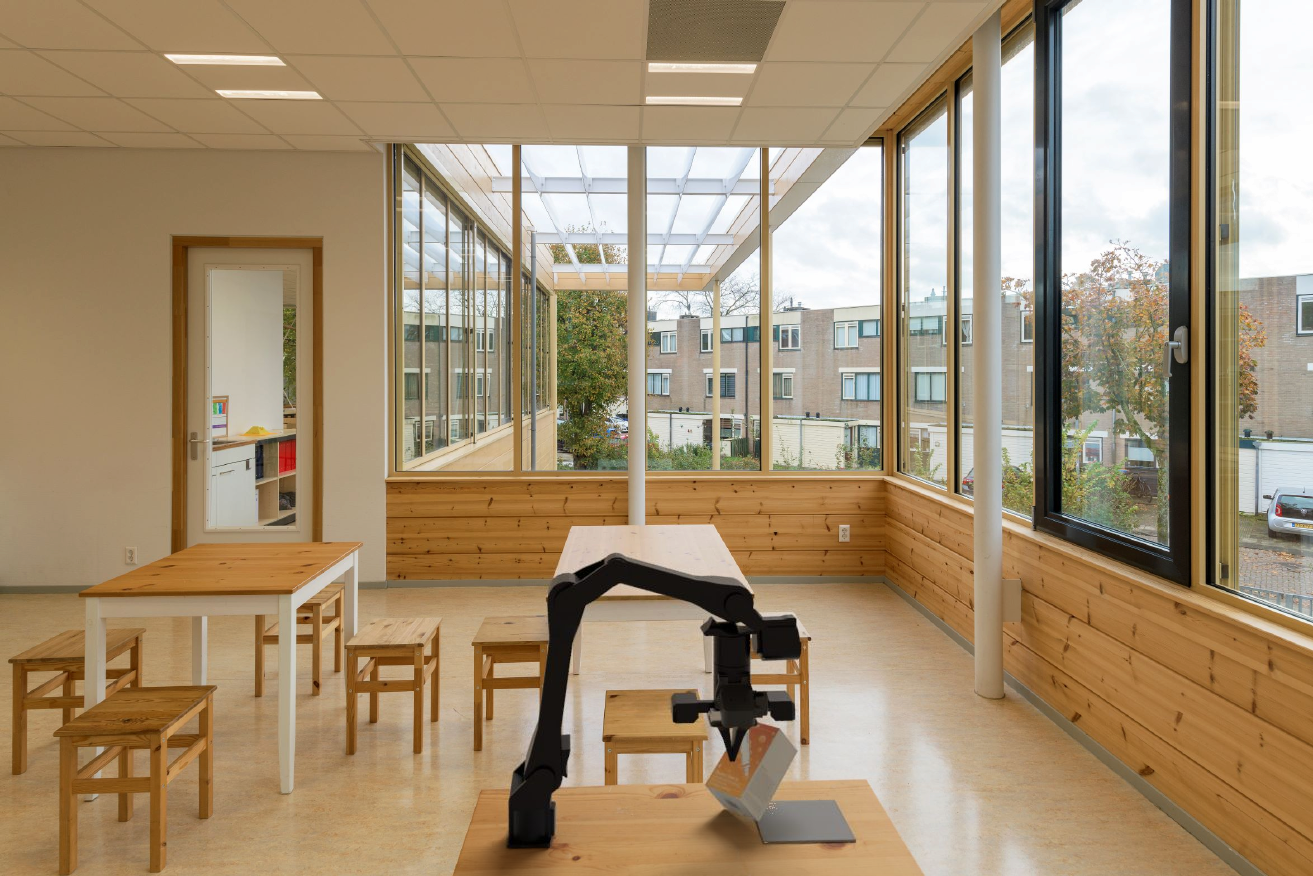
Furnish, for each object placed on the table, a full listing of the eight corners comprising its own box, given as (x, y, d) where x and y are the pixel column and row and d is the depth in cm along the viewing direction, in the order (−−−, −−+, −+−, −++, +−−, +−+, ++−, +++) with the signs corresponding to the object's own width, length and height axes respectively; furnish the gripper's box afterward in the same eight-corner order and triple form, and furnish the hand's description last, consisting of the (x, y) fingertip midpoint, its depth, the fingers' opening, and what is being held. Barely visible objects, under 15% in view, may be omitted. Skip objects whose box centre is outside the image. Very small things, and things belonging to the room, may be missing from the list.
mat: (763, 843, 120) (763, 841, 120) (750, 803, 132) (750, 801, 132) (856, 841, 120) (856, 839, 120) (834, 801, 132) (834, 799, 132)
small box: (703, 785, 128) (744, 717, 134) (723, 808, 130) (762, 740, 137) (739, 799, 121) (780, 727, 128) (760, 823, 124) (799, 751, 131)
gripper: (675, 681, 115) (675, 787, 116) (803, 678, 116) (803, 784, 117) (670, 656, 126) (670, 753, 127) (787, 654, 127) (787, 750, 128)
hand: (731, 760), depth 124 cm, fingers closed
